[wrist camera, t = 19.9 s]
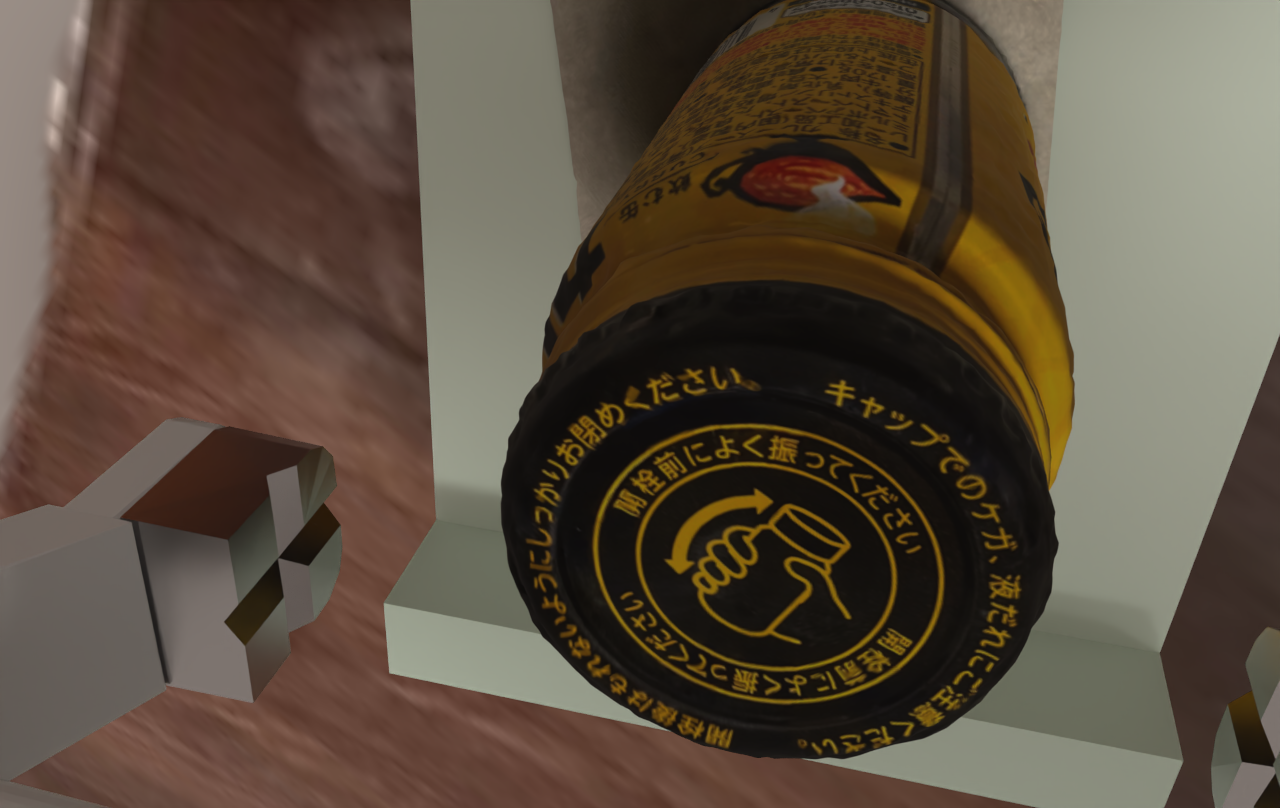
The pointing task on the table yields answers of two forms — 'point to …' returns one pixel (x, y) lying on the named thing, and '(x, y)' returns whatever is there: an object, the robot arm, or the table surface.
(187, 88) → the table surface
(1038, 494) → the condiment
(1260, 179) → the lid
